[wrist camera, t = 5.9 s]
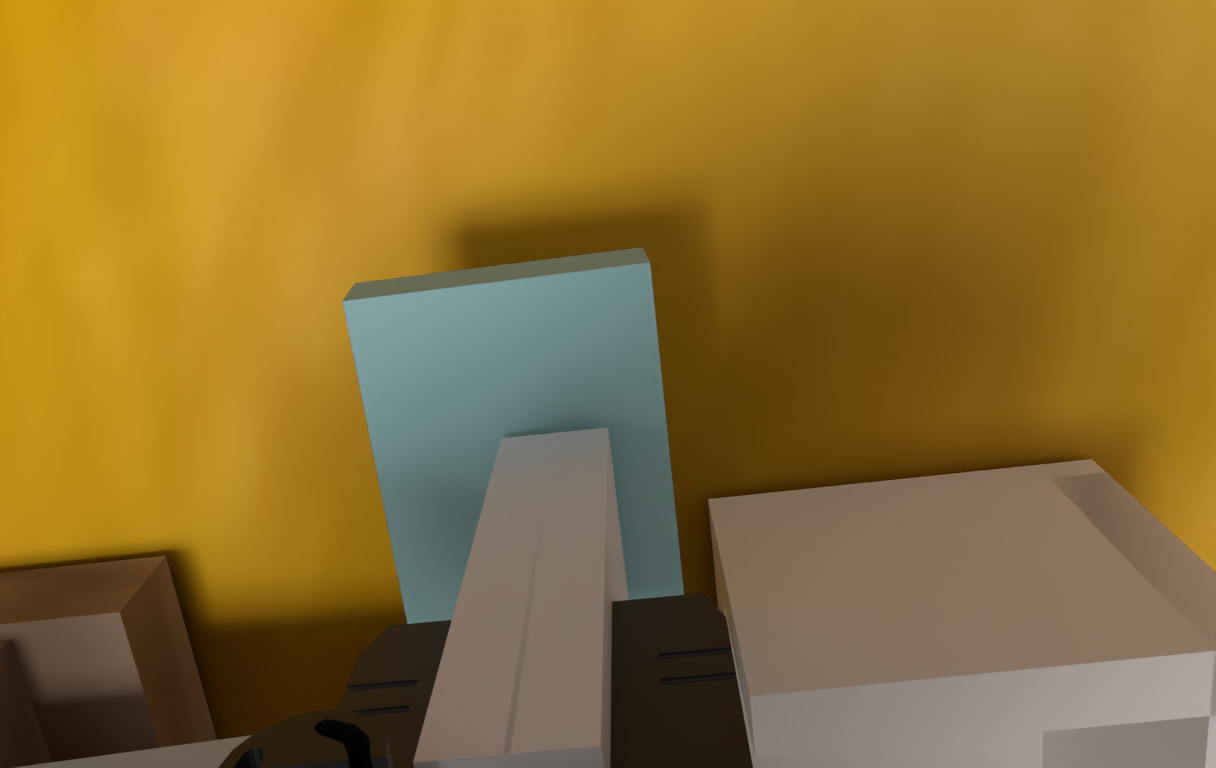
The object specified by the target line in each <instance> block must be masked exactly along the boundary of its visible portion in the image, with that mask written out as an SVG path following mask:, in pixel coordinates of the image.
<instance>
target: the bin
mask: <svg viewBox="0 0 1216 768" xmlns="http://www.w3.org/2000/svg"><path fill="white" fill-rule="evenodd" d="M708 503H709V514H710V525H711V536H712V547H713V558H714V569H715V580H716V591H717V602H718V609H719V610H720V611H721V612H722V613H723V614H724V615H725V616H726V619H727V625H728V630H729V636H730V641H731V647H732V653H733V658H734V664H735V670H736V677H737V681H738V686H739V692H740V698H741V703H742V709H743V714H744V720H745V726H746V731H747V737H748V742H749V748H750V754H751V759H752V765H753V768H1216V572H1215V571H1214V570H1213V569H1212V568H1211V567H1210V566H1209V565H1207V564H1206V563H1205V562H1204V561H1203V560H1202V559H1201V558H1200V557H1199V556H1198V555H1197V554H1195V553H1194V552H1193V551H1192V550H1191V549H1190V548H1189V547H1188V546H1187V545H1186V544H1184V543H1183V542H1182V541H1181V540H1180V539H1179V538H1178V537H1177V536H1176V535H1175V534H1173V533H1172V532H1171V531H1170V530H1169V529H1168V528H1167V527H1166V526H1165V525H1164V524H1162V523H1161V522H1160V521H1159V520H1158V519H1157V518H1156V517H1155V516H1154V515H1153V514H1152V513H1150V512H1149V511H1148V510H1147V509H1146V508H1145V507H1144V506H1143V505H1142V504H1141V503H1139V502H1138V501H1137V500H1136V499H1135V498H1134V497H1133V496H1132V495H1131V494H1130V493H1128V492H1127V491H1126V490H1125V489H1124V488H1123V487H1122V486H1121V485H1120V484H1119V483H1118V482H1116V481H1115V480H1114V479H1113V478H1112V477H1111V476H1110V475H1109V474H1108V473H1107V472H1105V471H1104V470H1103V469H1102V468H1101V467H1100V466H1099V465H1098V464H1097V463H1096V462H1094V461H1093V460H1092V459H1088V460H1079V461H1069V462H1059V463H1050V464H1040V465H1031V466H1021V467H1011V468H1002V469H992V470H983V471H973V472H963V473H954V474H944V475H935V476H925V477H915V478H906V479H896V480H887V481H877V482H867V483H858V484H848V485H839V486H829V487H819V488H810V489H800V490H791V491H781V492H771V493H762V494H752V495H743V496H733V497H723V498H714V499H708Z"/></svg>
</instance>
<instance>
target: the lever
mask: <svg viewBox="0 0 1216 768" xmlns="http://www.w3.org/2000/svg"><path fill="white" fill-rule="evenodd" d="M342 302H343V306H344V311H345V316H346V321H347V326H348V331H349V336H350V341H351V346H352V351H353V356H354V361H355V366H356V371H357V376H358V381H359V386H360V391H361V396H362V401H363V406H364V411H365V416H366V421H367V426H368V430H369V435H370V440H371V445H372V450H373V455H374V460H375V465H376V470H377V475H378V480H379V485H380V490H381V495H382V500H383V505H384V510H385V515H386V520H387V525H388V530H389V535H390V540H391V545H392V550H393V554H394V559H395V564H396V569H397V574H398V579H399V584H400V589H401V594H402V599H403V604H404V609H405V614H406V619H407V624H412V623H423V622H434V621H445V620H452V618H453V614H454V610H455V607H456V603H457V599H458V596H459V592H460V588H461V584H462V581H463V577H464V573H465V570H466V566H467V562H468V559H469V555H470V551H471V548H472V544H473V540H474V537H475V533H476V529H477V526H478V522H479V518H480V515H481V511H482V507H483V504H484V500H485V496H486V493H487V489H488V485H489V482H490V478H491V474H492V471H493V467H494V463H495V460H496V456H497V452H498V449H499V445H500V441H501V438H508V437H518V436H528V435H538V434H548V433H558V432H568V431H578V430H587V429H597V428H607V427H608V431H609V439H610V448H611V456H612V464H613V472H614V481H615V489H616V497H617V506H618V514H619V522H620V531H621V539H622V547H623V556H624V564H625V572H626V580H627V589H628V597H629V600H634V599H644V598H655V597H666V596H676V595H684V588H683V578H682V569H681V559H680V549H679V539H678V530H677V520H676V510H675V500H674V491H673V481H672V471H671V461H670V452H669V442H668V432H667V422H666V412H665V403H664V393H663V383H662V373H661V364H660V354H659V344H658V334H657V325H656V315H655V305H654V295H653V286H652V276H651V266H650V261H649V259H648V257H647V255H646V253H645V251H644V249H643V247H640V248H632V249H624V250H616V251H608V252H600V253H592V254H584V255H577V256H569V257H561V258H553V259H545V260H537V261H529V262H521V263H513V264H505V265H497V266H489V267H481V268H473V269H465V270H457V271H449V272H441V273H433V274H426V275H418V276H410V277H402V278H394V279H386V280H378V281H370V282H362V283H355V284H354V285H353V287H352V288H351V290H350V291H349V293H348V294H347V295H346V297H345V298H344V300H343V301H342ZM251 736H252V735H250V736H243V737H235V738H228V739H221V740H213V741H206V742H199V743H191V744H184V745H177V746H169V747H162V748H155V749H147V750H140V751H133V752H125V753H118V754H110V755H103V756H96V757H88V758H81V759H74V760H66V761H59V762H52V763H44V764H37V765H30V766H22V767H15V768H218V767H219V766H220V765H221V764H222V762H223V761H224V760H225V759H226V757H227V756H228V755H229V754H230V752H231V751H232V750H233V749H234V748H235V747H237V746H238V745H240V744H241V743H242V742H244V741H245V740H246V739H248V738H249V737H251Z"/></svg>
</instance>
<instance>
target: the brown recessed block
mask: <svg viewBox="0 0 1216 768" xmlns="http://www.w3.org/2000/svg"><path fill="white" fill-rule="evenodd" d="M213 740H217V737H216V733H215V730H214V726H213V723H212V719H211V716H210V712H209V708H208V705H207V701H206V698H205V694H204V691H203V687H202V683H201V680H200V676H199V673H198V669H197V666H196V662H195V658H194V655H193V651H192V648H191V644H190V641H189V637H188V634H187V630H186V626H185V623H184V619H183V616H182V612H181V609H180V605H179V601H178V598H177V594H176V591H175V587H174V584H173V580H172V577H171V573H170V569H169V566H168V562H167V559H166V556H157V557H148V558H138V559H129V560H119V561H109V562H100V563H90V564H81V565H71V566H61V567H52V568H42V569H33V570H23V571H13V572H4V573H0V768H15V767H22V766H30V765H37V764H44V763H52V762H59V761H66V760H74V759H81V758H88V757H96V756H103V755H110V754H118V753H125V752H133V751H140V750H147V749H155V748H162V747H169V746H177V745H184V744H191V743H199V742H206V741H213Z"/></svg>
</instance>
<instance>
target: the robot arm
mask: <svg viewBox="0 0 1216 768" xmlns="http://www.w3.org/2000/svg"><path fill="white" fill-rule="evenodd" d="M218 768H753V765H752V759H751V754H750V748H749V742H748V737H747V731H746V726H745V720H744V714H743V709H742V703H741V698H740V692H739V686H738V681H737V677H736V670H735V664H734V658H733V653H732V647H731V641H730V636H729V630H728V625H727V619H726V616H725V615H724V614H723V613H722V612H721V611H720V610H719V609H718V608H717V607H716V606H715V605H714V604H713V603H712V602H711V601H710V600H709V599H708V598H707V597H706V596H705V595H704V594H703V593H698V594H687V595H676V596H666V597H655V598H644V599H634V600H629V597H628V589H627V580H626V572H625V564H624V556H623V547H622V539H621V531H620V522H619V514H618V506H617V497H616V489H615V481H614V472H613V464H612V456H611V448H610V439H609V431H608V427H607V428H597V429H587V430H578V431H568V432H558V433H548V434H538V435H528V436H518V437H508V438H501V441H500V445H499V449H498V452H497V456H496V460H495V463H494V467H493V471H492V474H491V478H490V482H489V485H488V489H487V493H486V496H485V500H484V504H483V507H482V511H481V515H480V518H479V522H478V526H477V529H476V533H475V537H474V540H473V544H472V548H471V551H470V555H469V559H468V562H467V566H466V570H465V573H464V577H463V581H462V584H461V588H460V592H459V596H458V599H457V603H456V607H455V610H454V614H453V618H452V620H445V621H434V622H423V623H412V624H402V625H391V626H388V627H387V628H386V629H385V630H384V631H383V632H382V633H381V634H380V635H379V636H378V637H377V638H376V639H375V640H374V641H373V642H372V643H371V644H369V645H368V646H367V647H366V648H365V649H364V650H363V651H362V652H361V653H360V654H359V657H358V659H357V662H356V664H355V667H354V669H353V672H352V674H351V677H350V679H349V682H348V684H347V692H344V694H343V697H342V699H341V702H340V704H339V707H338V709H337V710H320V711H315V712H310V713H305V714H301V715H296V716H291V717H289V718H286V719H284V720H282V721H279V722H277V723H275V724H272V725H270V726H268V727H266V728H263V729H261V730H259V731H258V732H256V733H255V734H253V735H252V736H251V737H249V738H248V739H246V740H245V741H244V742H242V743H241V744H240V745H238V746H237V747H235V748H234V749H233V750H232V751H231V752H230V754H229V755H228V756H227V757H226V759H225V760H224V761H223V762H222V764H221V765H220V766H219V767H218Z"/></svg>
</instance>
